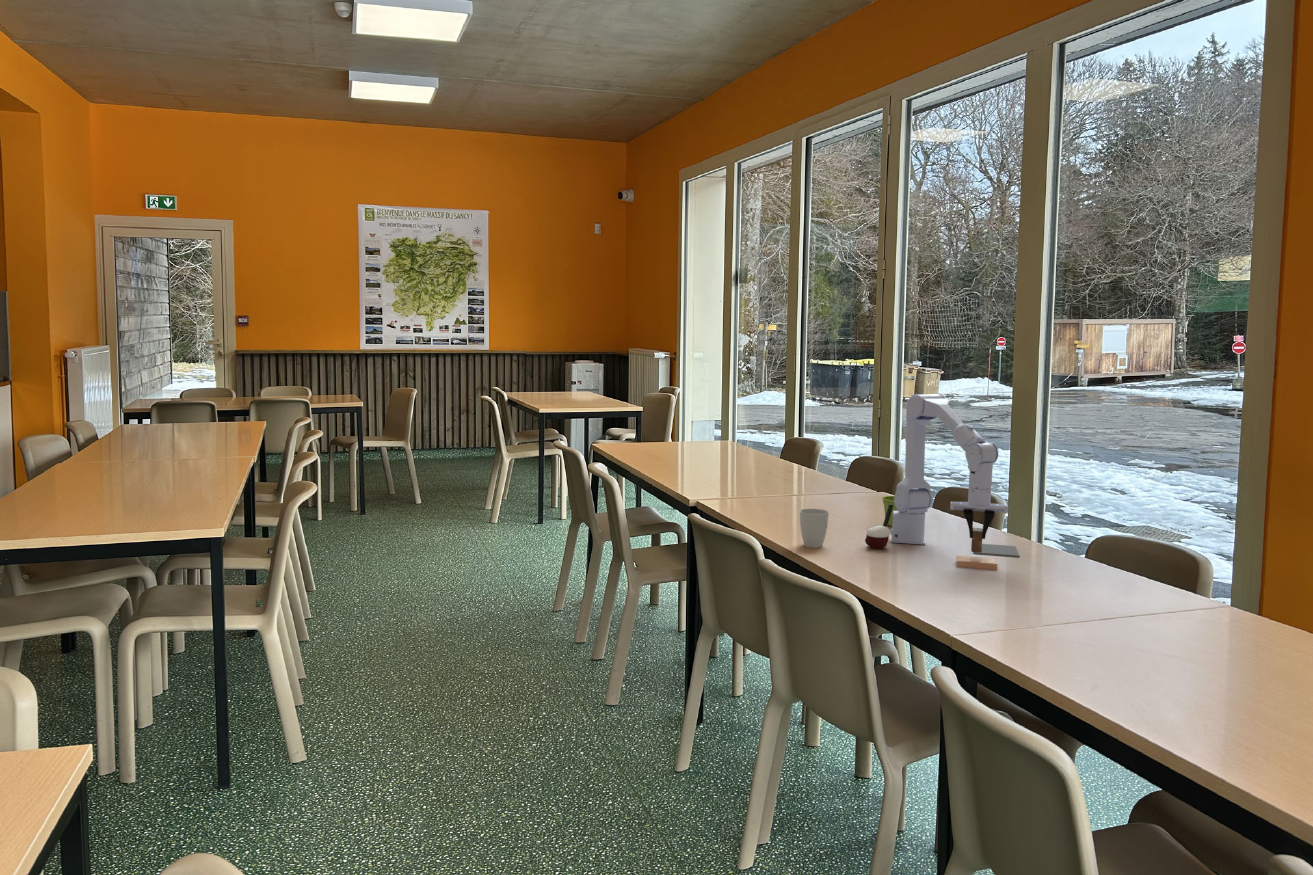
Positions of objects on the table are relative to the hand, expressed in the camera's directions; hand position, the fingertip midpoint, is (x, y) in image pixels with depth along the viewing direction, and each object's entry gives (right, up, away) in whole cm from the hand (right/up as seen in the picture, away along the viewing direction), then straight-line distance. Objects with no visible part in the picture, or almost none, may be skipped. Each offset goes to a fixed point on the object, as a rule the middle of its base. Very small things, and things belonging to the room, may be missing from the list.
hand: (977, 537), depth 253 cm
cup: (-41, -4, +18) cm, 45 cm away
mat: (+10, -5, +16) cm, 19 cm away
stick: (0, -4, +2) cm, 4 cm away
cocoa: (-22, -5, +17) cm, 29 cm away
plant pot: (-10, -1, +48) cm, 49 cm away
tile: (0, -6, +1) cm, 6 cm away
